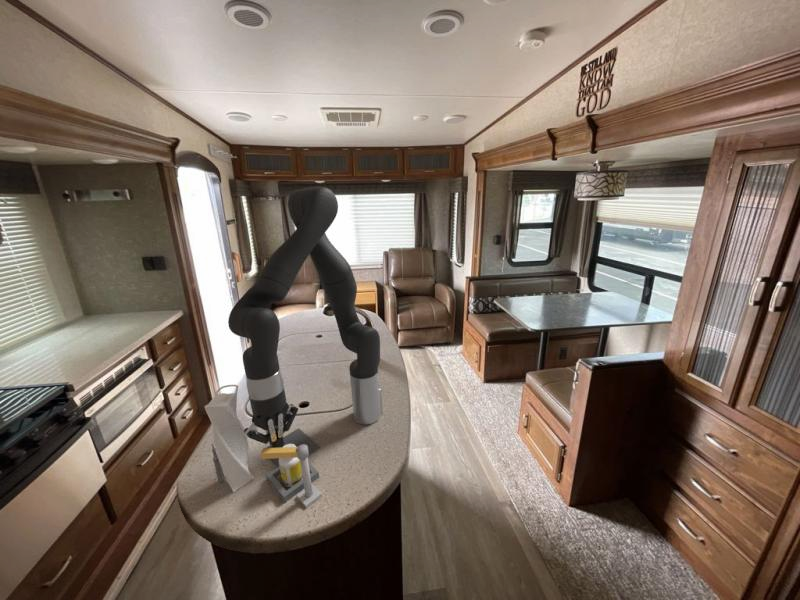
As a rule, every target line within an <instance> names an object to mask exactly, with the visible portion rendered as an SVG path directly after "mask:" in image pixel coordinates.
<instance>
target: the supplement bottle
mask: <svg viewBox="0 0 800 600" xmlns="http://www.w3.org/2000/svg"><path fill="white" fill-rule="evenodd" d="M283 447H296V446H295V445H294V444H287V445H285V446H283ZM279 466H280V472H281V475H280V476H281V481H282V483H283V485H284V486H285V487H288V488H291V487H292V486H294V485H295V484H297V483H298V482H299V481H301V480H302V479H303V477H302V471H301V465H300V459H298V457H297V458H279Z"/></svg>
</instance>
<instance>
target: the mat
mask: <svg viewBox="0 0 800 600" xmlns="http://www.w3.org/2000/svg"><path fill="white" fill-rule="evenodd" d="M283 441H284V446H285V445H287V444H294V445H295V446H296V447H298V446H300V445H303V444H305V445H307V446H308V452H309V455H311V454H312V453H314V452H316V451H317V450H319V449H320V448H321V447H320V445H319V444H318V443H316V442H315V441H314V440H313V439H312V438H311V437H309V436H308V434H306V433H305V432H304V431H303V430H302V429H300V428H297V429H295V430H293V431H292V432H290V433H288V434H286V435H285V436H283ZM265 448H270V444H269V445H268V446H266V447H265ZM309 455H308V456H309ZM270 461H271V462H272V464H273V465H275V467H276V468H277V467H279V458H271V459H270Z"/></svg>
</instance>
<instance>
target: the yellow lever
mask: <svg viewBox="0 0 800 600" xmlns="http://www.w3.org/2000/svg"><path fill="white" fill-rule="evenodd" d="M259 455H260V458H261V460H265V459H269V460H271V458H297V457H298V459H300V460H303V459H306V458H307V457H309V452H308V446H307V445H305V444H303V445H300V446H298V447H282V448H266V447H262V450H261V451H260V453H259Z"/></svg>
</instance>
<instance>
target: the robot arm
mask: <svg viewBox="0 0 800 600" xmlns="http://www.w3.org/2000/svg"><path fill="white" fill-rule="evenodd" d="M287 208H288V209H287V210H288V212H289V216H290V218H291V220H292V222H293V225H294V227H295V228H296V229H295V230H294V231H293V233H292V234H291V235H290V236H289V237H288V238H287V239H286V240H285V241H284V242H283V243H282V244H281V245H280V246H279V247H278V248H276V249H275V251H274V252H273V253H272V254H271V255H270V257H269V258H268V259H267V261H266V263H265V264H264V265H263V267H262V269H261V272H260V274H259V275H258V276H257V279H256V281H255V282H254V284H253V285H252V286H251V287H250V288H249V289H248V290H247V291H246V292H245V293H244V294H243V295H242V297H240V299H238V301H236V303H235V304H234V306H233V307H232V309H231V310H230V313H229V316H228V321H227V322H228V329H229V330H230V331H231V333H233V334H234V335H235V336H238V337H241V338H245V339H248V340H249V341H250V346H249V347H247V348H246V349H245V350H244V351H243V353H242V364H243V368H244V374H245V378H246V389H247V394H248V398H249V404H250V408H251V411H252V412H251V413H252V418H251V422H252V423H251V424H250V425H249V427H246V428H244V429H245V430H244V433H245V434H246V435H247V438H249V439H251V440H253V441H256V442H258V443H259V442H260V443H261V444H264V445H266V444H267V445H268V443H269V445H270V448H282V447H283V446H284V441H283V437H284V433H286V432H289V431H290V429H291V427H292V424H293V423H294V420H295V417H296V415H297V413H298V411H299V408H298V407H297V406H296V405H294V404H292V403H290V404H289V403H288V402H287V397H286V392H285V385H284V378H283V374H282V372H281V369H280V363H279V356H278V349H279V340H280V331H281V324H280V320H279V318H278V316H277V314H276V313H275V311H273V309H270V308H269V307H270V306H271V305H272V304H274V303H279V302H282V301H284V300H285V299H286V298H287V296H288V294H289V291H291V290H290V289H291V287H292V286H293V285H294V282H295V280H296V278H297V276H298V274H299V272H300V270H301V268H302V267H303V265H304V263H305V262H306V260H307V259H308V257H309V256H310V259H311V261H312V263H313V265H314V268H315V270H316V273H317V275H318V278H319V281H320V284H321V286H322V290H323V292H324V294H325V295H326V298H327V300H328V302H329V305H330V308H331V311H332V313H333V315H334V317H335V320H336V321H335V322H336V324H337V328H338V332H339V336H340V340H341V342H342V344H343V347H345V348H346V350H348V351H350V352H352V353H355V354H356V359H354V360H353V361H351V363H350V365H349V366H348V367H349V368H348V369H349V378H350V390H351V400H352V401H351V402H352V415H353V419H354V421H355V422H356V423H358V424H359V425H364V426H365V425H371V424H375V423H376V422H377V421H378V420H379V419H380V418H381V415H382V414H383V412H384V411H383V395H382V392H383V391H382V389H381V387H380V380H379V378H380V377H379V366H380V362H381V339H380V338H381V337H380V333H379V331H378V330H377V329H376V328H374V327H371V326H368V325H365V324H364V323H362V322H361V321H360V319H359V317H358V314H357V313H358V312H357V311H356V306H355V303H356V299H357V293H358V287H357V282H356V279H355V275H354V273H353V270H352V267H351V266H350V264H349V262H348V261H347V260H346V258H345V257H344V256H343V255H342V253H340V251H339V250H338V249H337V248H336V247H335V246H334V245H333V243H332V242H331V241H330V239H329V238H328V236H327V234H326V232H327V231H328V229H329V228H330V227H331V226H332V224H333V222H334V221H335V219H336V217H337V215H338V212H339V211H338V210H339V203H338V199H337V197H336V195H335V193H334V192H333V191H332V190H331V189H330V188H328V187H325V186H314V187H307V188H300V189H296V190H293V191H292V192H291V193H290V194H289V197H288V199H287ZM258 428H260V429H261V430H263V431H265V434H264V433H261V432H259V430H258Z"/></svg>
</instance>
